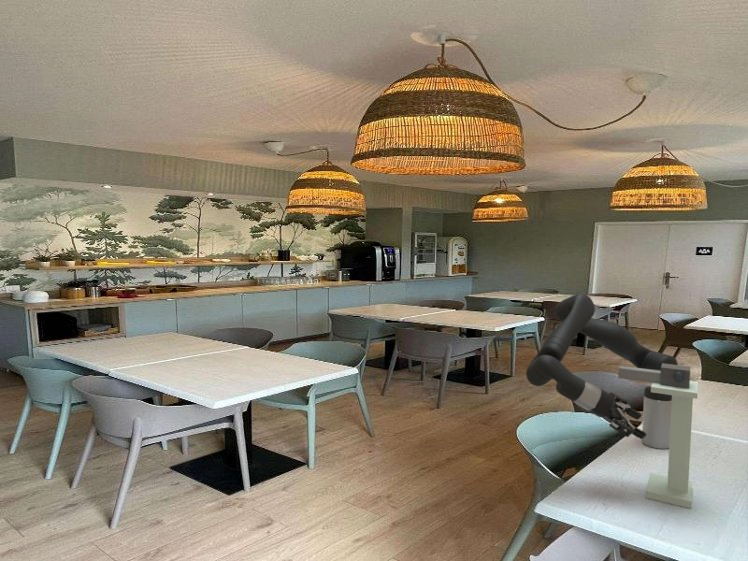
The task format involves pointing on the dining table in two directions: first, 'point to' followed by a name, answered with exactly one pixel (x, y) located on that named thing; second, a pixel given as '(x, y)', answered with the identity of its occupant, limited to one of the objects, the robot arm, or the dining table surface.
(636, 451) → the dining table surface
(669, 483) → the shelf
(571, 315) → the robot arm
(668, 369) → the grey block with bar
